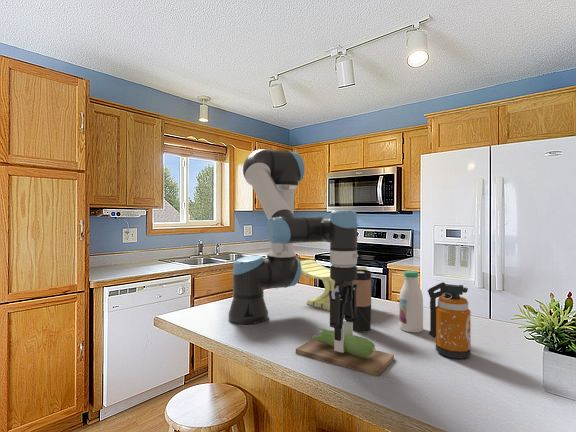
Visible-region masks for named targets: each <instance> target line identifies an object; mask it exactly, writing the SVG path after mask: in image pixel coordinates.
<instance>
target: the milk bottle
mask: <svg viewBox="0 0 576 432" xmlns="http://www.w3.org/2000/svg"><path fill="white" fill-rule="evenodd" d="M403 276H404V277H403V278H404V281H403V284H402V287H401V288H400V292H399V303H398V304H399V312H398V314H399V315H398V317H399V319H398V321H399V328H400V329H401V331H403V332H406V333H407V332H408V333H422V332H423V331H424V296H423V292H422V290H421V287H420V285H419V281H418V279H419V272H418V271H415V270H405V271H404V272H403Z"/></svg>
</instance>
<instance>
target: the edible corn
mask: <svg viewBox="0 0 576 432" xmlns="http://www.w3.org/2000/svg"><path fill="white" fill-rule="evenodd" d="M318 330H321V331H320V332H319V335H313V336H312V339H313V338H314V339H316V340H318V341H319V342H322V343H325V344H328V345H331V346H333V347H334V330H329V329H326V328H322V327H321V328H320V327H318ZM375 350H376V346H375V343H374V342H372V341H371V340H369V339H367V338H366V337H362V336H358V335H354V334H353V335H349V334H344V351H346V352H349V353H351V354H354V355H357V356H360V357H367V356H369V355H371V354H372V352H375Z"/></svg>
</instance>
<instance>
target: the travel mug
mask: <svg viewBox="0 0 576 432" xmlns="http://www.w3.org/2000/svg"><path fill="white" fill-rule="evenodd" d="M352 282H353V284H357V290H356V318H354V319H356V322H353V332H359V333H367V332H369V331H371V328H372V327H371V325H372V324H371V323H372V321H371V320H372V272H371V270H368V269H367V270H357V279H356V280H354V281H352Z"/></svg>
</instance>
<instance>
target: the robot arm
mask: <svg viewBox="0 0 576 432" xmlns="http://www.w3.org/2000/svg"><path fill="white" fill-rule="evenodd" d="M305 172H306V171H305V162H304V160H303V158H302V156H301V155H300V153H298V152H295V151H290V150H275V149H265V148H264V149H257V150H254V151H253V152H252V153H250V154H249V155H248V156H247V157H246V158H245V160H244V163H243V166H242V173H243V174H242V175H243V178H244V179H245V181H246V182H247V184H248V185H250V186H251V188H252V190H253V192H254V193H255V196H256V197H257V199H258V201H259V204H260V206H261V207H262V210H263V212H264V213H265V216H266V218H267V222H266V225H265V233H266V238H267V240H268V241H269V242H270V249H269V251H268V252H267V253H266V258H264V256H262V255H249V256H244V257H239V258H237V259H236V260H235V261H234V262H233V266H232V293H233V294H232V301H231V305H230V309H229V311H228V321H229V322H231V323H233V324H239V325H253V324H254V325H255V324H258V323H262V322H265V321H266V320H268V319H269V310H268V308H267V304H266V301H265V298H264V294H265V293H264V290H270V289H280V288H284V289H285V288H288V287H289V288H290V287H294V286H296V285H297V284H298V283H299V281H300V279H301V275H302V271H301V270H302V269H301V265H300V264H301V262H300V261H301V260H300V259H299V258H298V257H297V254H296V252H295V251H294V250H293V246H294V245H293V244H296V243H297V244H298V243H299V244H300V243H301V244H302V243H319V242H320V243H323V242H324V243H325V242H326V243H329V244H330V245H329V248H330V249H329V251H330V252H329V264H331V265H330V266H329V270H330V278H331V279H332V280H334V281H335V285H334V290H333V291H329V297H330V310H329V327H330V328H332V329H333V331H334V351H338V352H342V353H344V334H349V335H354V331H353V322H356V319H354V318H356V290H357V284H353V282H352V281H354V280H356V279H357V268H358V267H357V266H356V265H357V264H358V257H359V254H358V227H359V225H358V216H357V215H358V214H357V212H356V211H355V210H332V211H330V213H329V214H330V215H329V216H328V217H326V216H315V217H313V216H310V217H308V216H307V217H305V216H304V217H303V216H301V217H300V216H299V217H297V216H295V214H294V211H295V190H296V189H297V188H298V187H299V182H301V181H303V179H304V177H305V174H306V173H305ZM340 299H342V300H340Z"/></svg>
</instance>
